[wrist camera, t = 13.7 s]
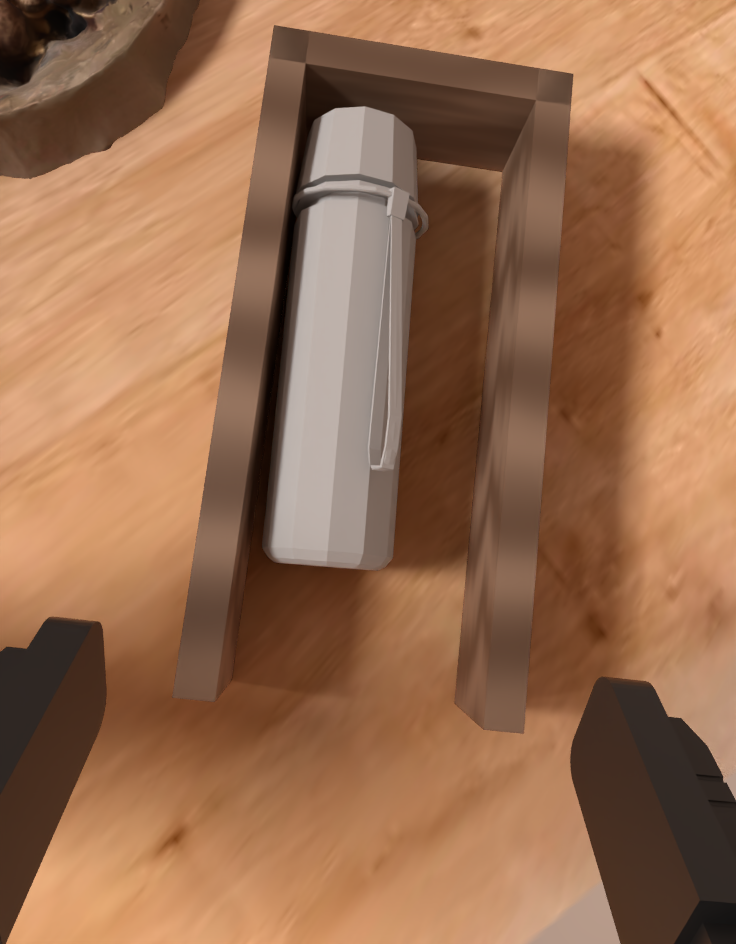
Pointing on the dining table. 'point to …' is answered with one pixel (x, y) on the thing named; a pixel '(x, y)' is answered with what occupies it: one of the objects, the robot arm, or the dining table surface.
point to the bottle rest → (507, 355)
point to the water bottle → (345, 345)
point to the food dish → (81, 75)
